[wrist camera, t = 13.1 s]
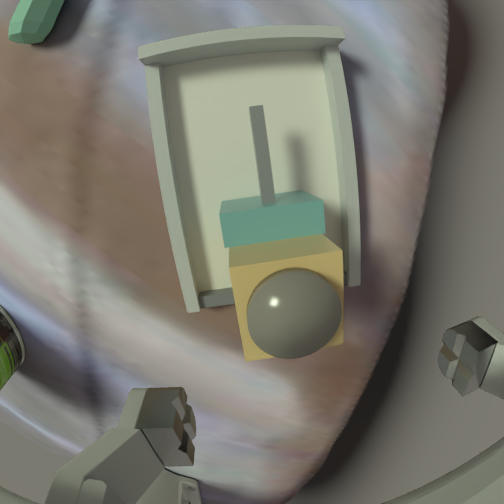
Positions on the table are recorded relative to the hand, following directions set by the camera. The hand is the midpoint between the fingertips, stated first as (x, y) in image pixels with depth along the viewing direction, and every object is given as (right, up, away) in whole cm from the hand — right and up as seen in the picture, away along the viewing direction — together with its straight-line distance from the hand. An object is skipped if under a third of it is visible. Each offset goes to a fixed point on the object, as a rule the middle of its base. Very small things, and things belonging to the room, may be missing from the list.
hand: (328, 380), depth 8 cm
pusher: (-2, +10, +13) cm, 16 cm away
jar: (-1, +3, +15) cm, 15 cm away
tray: (-2, +10, +14) cm, 17 cm away
